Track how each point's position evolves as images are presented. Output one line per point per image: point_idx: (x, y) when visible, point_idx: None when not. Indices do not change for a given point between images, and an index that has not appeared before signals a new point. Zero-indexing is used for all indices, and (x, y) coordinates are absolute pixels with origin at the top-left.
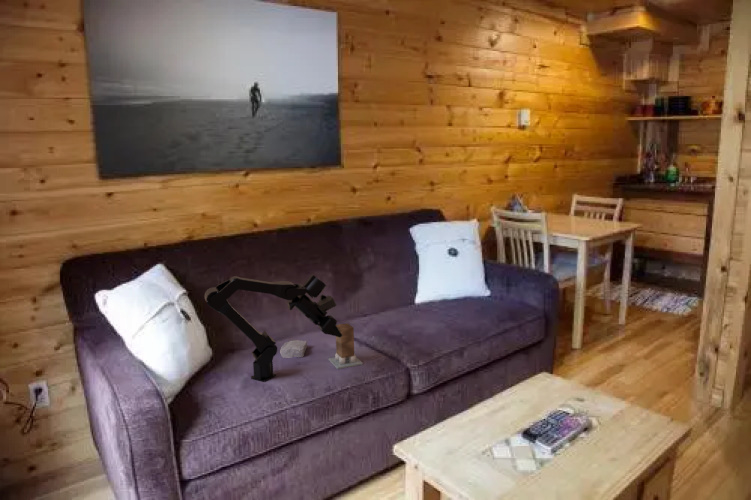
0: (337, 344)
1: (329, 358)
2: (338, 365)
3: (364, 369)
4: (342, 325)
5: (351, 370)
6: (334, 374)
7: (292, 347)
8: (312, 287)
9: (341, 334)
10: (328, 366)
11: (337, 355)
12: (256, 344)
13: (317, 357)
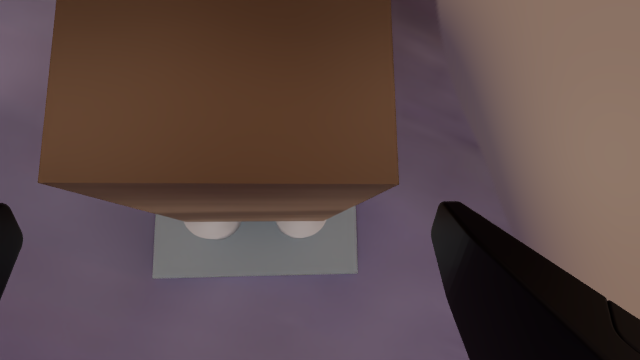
0: (210, 215)
1: (155, 272)
2: (322, 252)
3: (427, 112)
4: (152, 57)
5: (410, 192)
6: (429, 319)
7: None
8: None
9: (471, 214)
10: (276, 316)
11: (233, 228)
12: None
13: (51, 346)
